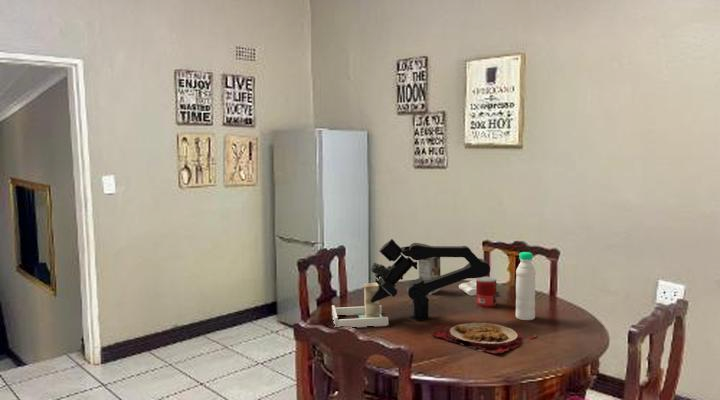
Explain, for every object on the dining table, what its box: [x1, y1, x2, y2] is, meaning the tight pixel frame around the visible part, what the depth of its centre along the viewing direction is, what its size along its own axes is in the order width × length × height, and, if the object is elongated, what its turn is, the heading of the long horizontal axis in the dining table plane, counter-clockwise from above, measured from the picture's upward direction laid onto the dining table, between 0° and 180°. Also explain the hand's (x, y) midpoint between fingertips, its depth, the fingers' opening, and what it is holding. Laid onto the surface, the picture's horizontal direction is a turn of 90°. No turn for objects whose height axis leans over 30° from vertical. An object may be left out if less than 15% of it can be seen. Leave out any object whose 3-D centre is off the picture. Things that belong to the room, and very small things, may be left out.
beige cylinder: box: [363, 282, 380, 318], centre depth 202 cm, size 5×5×12 cm
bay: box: [331, 304, 389, 328], centre depth 202 cm, size 20×16×4 cm
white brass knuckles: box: [458, 279, 476, 297], centre depth 240 cm, size 3×18×15 cm
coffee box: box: [418, 257, 441, 295], centre depth 241 cm, size 9×6×16 cm
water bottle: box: [515, 251, 536, 321], centre depth 200 cm, size 7×7×25 cm
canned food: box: [475, 276, 497, 308], centre depth 219 cm, size 8×8×11 cm
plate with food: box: [430, 321, 537, 354], centre depth 182 cm, size 25×26×4 cm
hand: (370, 299), depth 202 cm, fingers closed on beige cylinder, 5 cm apart
